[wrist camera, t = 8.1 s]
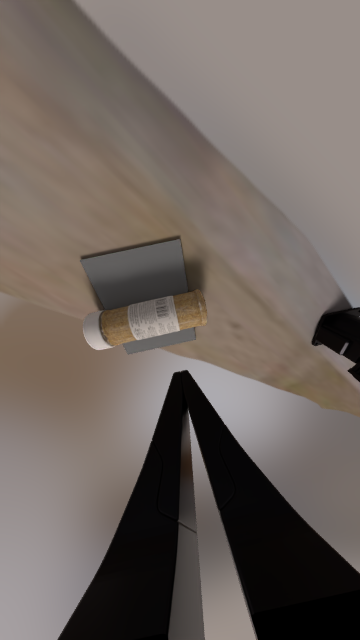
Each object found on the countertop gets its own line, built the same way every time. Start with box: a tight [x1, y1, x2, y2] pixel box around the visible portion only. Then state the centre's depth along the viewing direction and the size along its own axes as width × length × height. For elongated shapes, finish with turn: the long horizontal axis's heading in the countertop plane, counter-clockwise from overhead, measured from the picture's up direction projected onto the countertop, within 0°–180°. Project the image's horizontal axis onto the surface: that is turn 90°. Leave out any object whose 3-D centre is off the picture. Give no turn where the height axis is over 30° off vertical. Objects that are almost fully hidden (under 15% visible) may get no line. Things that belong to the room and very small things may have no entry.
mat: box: [80, 239, 196, 354], centre depth 18 cm, size 11×14×1 cm
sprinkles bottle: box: [83, 289, 207, 350], centre depth 17 cm, size 5×5×13 cm
